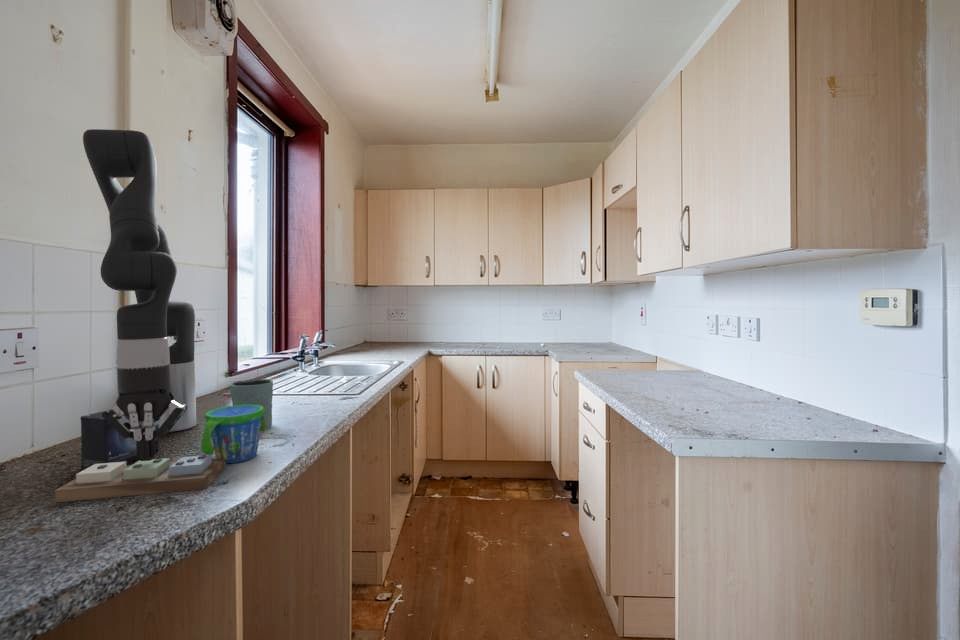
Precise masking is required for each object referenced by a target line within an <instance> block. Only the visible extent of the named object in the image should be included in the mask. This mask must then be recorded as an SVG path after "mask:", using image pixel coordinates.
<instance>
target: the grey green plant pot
mask: <svg viewBox="0 0 960 640" xmlns="http://www.w3.org/2000/svg"><path fill="white" fill-rule="evenodd" d="M273 390H274V381H273V379H271V378H270V379H269V378H259V379H258V378H257V379H245V380H240V381H235V382H234V381H233V382H231V383H230V384H229V391H230V392H229V393H230V397H231V402H232V406H234V405H260V406H262V407H263V409H264V417H265V422H266V428H268V427H270V426H271V425H273V413H272V412H273V394H274V393H273ZM271 427H272V426H271ZM271 427H270V428H271ZM268 429H269V428H268Z"/></svg>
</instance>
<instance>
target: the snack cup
mask: <svg viewBox="0 0 960 640" xmlns="http://www.w3.org/2000/svg"><path fill="white" fill-rule="evenodd" d="M204 418H205V422H206V423H205V425H204V429H203V431H202V437H201V442H200V449H201V452H202V453H203V455H212V454H214V459H217V458H225V464H235V463H237V464H238V463H241V462H245V461H249V460H250V459H252V458H253V457H255V456H257V453H258V448H259V441H260V433H264V432H265V431H266V430H267V429H266V422H265V417H264V409H263V407H262V406H260V405H234V406H233V405H227V406H224V407H223V406H222V407H218V408H215V409H212V410H210V411H207V412H206V414H205V415H204Z"/></svg>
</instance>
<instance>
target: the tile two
mask: <svg viewBox="0 0 960 640" xmlns="http://www.w3.org/2000/svg"><path fill="white" fill-rule="evenodd" d="M170 462H171V457H170V458H168V457H167V458H166V457H165V458H156V459H155V458H154V459H152V460H151V461H141V460H140V459H139V460H138V461H136V462H135V463H133V464H130V465H131V466H130V467H128V468H127V469H125V470H124V480H129V479H141V478H153V477H159V476H160V475H161V474H162V473H164V472H165V471H166V470H168V469H169V467H170Z"/></svg>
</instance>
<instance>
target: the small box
mask: <svg viewBox="0 0 960 640" xmlns="http://www.w3.org/2000/svg"><path fill="white" fill-rule="evenodd" d="M105 411H106V410H103V411H99V412H95V413H91V414H89V413H88V414H85V415H81V416H80V429H81V430H80V433H81V436H80V437H81V438H80V439H81V442H80V443H81V444H80V445H81V466H80V467H81V469H87V468H88V467H90V466H92V465H94V464H101V463H114V462H127V464H128V463H130V462H133V461H136V460H140V458H138V457H137V448H136V440H135V439H132V438H124V437H122V436H121V435H120V434H119V433H118V432H117V431H116V430H115V429H114V428H113V427H112V426H111V425H110V424H109V423H108V422H107V421H106V420H105V419H104V418H103V417H102V413H103V412H105ZM123 416H124V417H125V418H126V419H127V420H128V421H129V422H130V419H129V418H128V417H127V416H126V415H125V414H123Z"/></svg>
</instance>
